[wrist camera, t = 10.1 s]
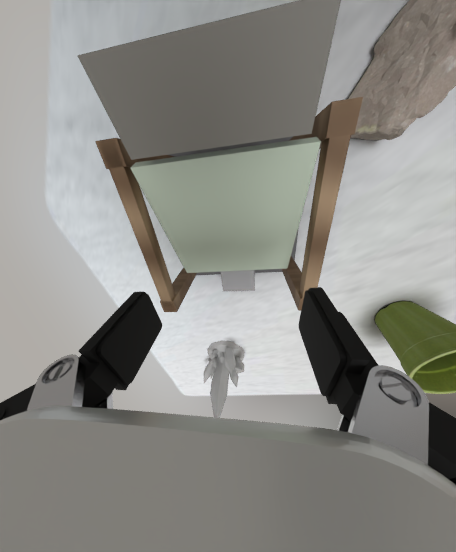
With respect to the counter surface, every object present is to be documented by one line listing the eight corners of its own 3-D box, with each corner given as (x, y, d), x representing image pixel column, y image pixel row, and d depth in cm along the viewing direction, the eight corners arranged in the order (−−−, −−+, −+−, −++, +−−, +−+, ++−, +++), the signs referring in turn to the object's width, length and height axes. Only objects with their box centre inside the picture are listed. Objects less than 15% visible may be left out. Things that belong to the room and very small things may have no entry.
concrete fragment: (319, 123, 19) (348, 102, 14) (466, -95, 12) (632, -300, 7) (361, 161, 20) (401, 154, 15) (514, -16, 13) (682, -139, 8)
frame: (169, 160, 22) (95, 141, 11) (298, 142, 20) (363, 96, 9) (193, 264, 30) (164, 311, 19) (287, 259, 28) (314, 310, 17)
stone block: (219, 263, 23) (223, 291, 26) (254, 261, 23) (254, 290, 25) (223, 250, 28) (226, 275, 30) (252, 248, 27) (253, 274, 29)
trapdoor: (94, 60, 9) (58, 60, 7) (341, 0, 7) (374, -19, 6) (189, 261, 23) (185, 278, 21) (284, 256, 21) (288, 275, 19)
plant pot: (369, 341, 36) (414, 400, 26) (354, 306, 31) (402, 362, 22) (436, 322, 32) (520, 385, 22) (430, 279, 27) (532, 334, 18)
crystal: (253, 342, 40) (258, 420, 27) (234, 369, 47) (230, 441, 34) (216, 330, 39) (201, 405, 26) (202, 359, 46) (185, 429, 33)
